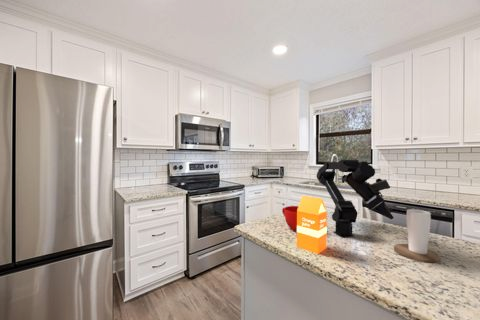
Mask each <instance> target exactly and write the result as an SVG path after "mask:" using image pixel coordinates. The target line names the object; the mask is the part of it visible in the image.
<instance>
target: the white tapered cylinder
mask: <svg viewBox="0 0 480 320" xmlns="http://www.w3.org/2000/svg"><path fill="white" fill-rule="evenodd" d="M431 215H432V214H431V212H430V211H426V210H421V209H412V208H409V209H408V208H407V209H406V217H405V219H406V222H405V223H406V232H407V240H408V241H407V242H408V243H407V244H408V249H409V250H410V251H411V252H413V253H416V254H422V255H424V254H427V252H428V247H429V240H430V239H429V238H430V232H431V222H432V216H431Z"/></svg>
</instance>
